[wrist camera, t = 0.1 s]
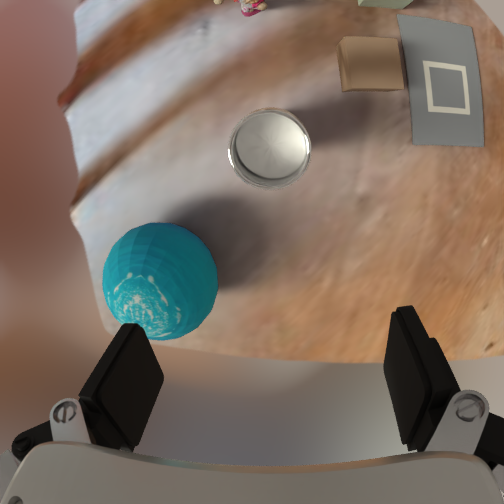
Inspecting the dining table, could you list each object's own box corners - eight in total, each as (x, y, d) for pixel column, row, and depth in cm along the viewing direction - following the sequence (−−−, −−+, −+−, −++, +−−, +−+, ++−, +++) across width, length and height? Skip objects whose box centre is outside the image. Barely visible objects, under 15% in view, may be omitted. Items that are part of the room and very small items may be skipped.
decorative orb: (133, 287, 49) (90, 346, 36) (131, 199, 42) (72, 242, 29) (222, 306, 49) (200, 377, 35) (233, 215, 42) (208, 269, 29)
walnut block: (335, 47, 31) (344, 36, 26) (381, 47, 30) (396, 38, 25) (342, 91, 34) (352, 88, 28) (387, 91, 33) (404, 89, 27)
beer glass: (271, 97, 35) (263, 88, 21) (314, 133, 36) (332, 147, 23) (235, 139, 38) (207, 156, 24) (277, 174, 39) (274, 210, 26)
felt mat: (396, 15, 28) (397, 14, 27) (470, 27, 26) (471, 26, 26) (412, 144, 35) (414, 144, 35) (482, 146, 33) (484, 147, 33)
